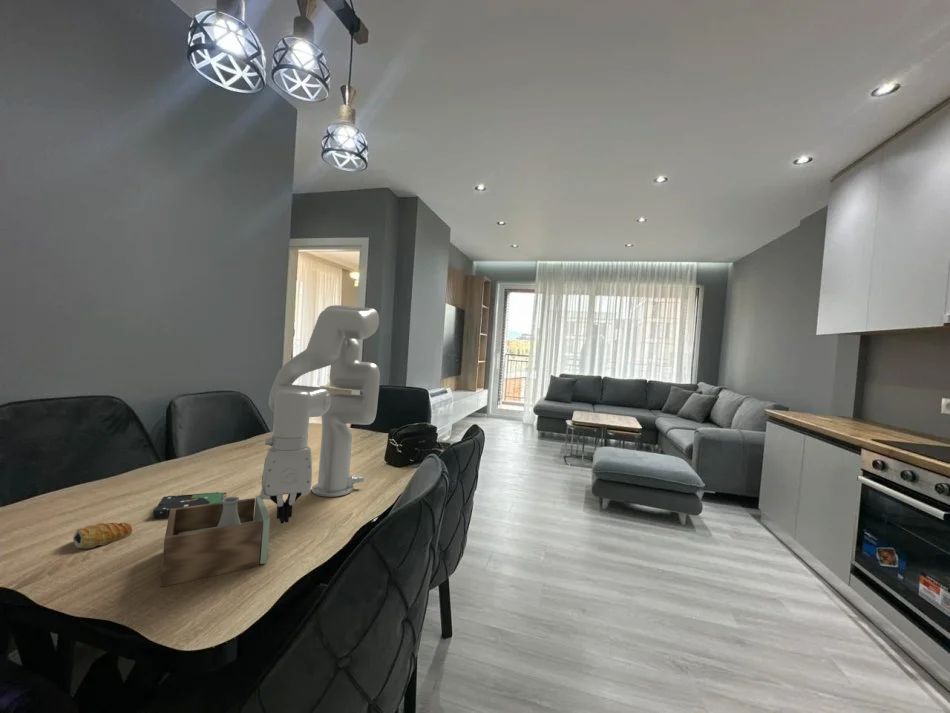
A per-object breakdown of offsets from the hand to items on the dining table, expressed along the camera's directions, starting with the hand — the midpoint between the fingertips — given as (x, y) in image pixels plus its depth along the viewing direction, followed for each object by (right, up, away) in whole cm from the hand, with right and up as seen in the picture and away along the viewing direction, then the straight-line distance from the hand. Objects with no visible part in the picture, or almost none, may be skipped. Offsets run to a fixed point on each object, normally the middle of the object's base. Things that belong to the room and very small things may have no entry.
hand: (283, 520), depth 90 cm
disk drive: (-32, -4, +15) cm, 36 cm away
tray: (-10, -4, -7) cm, 13 cm away
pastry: (-39, -3, -5) cm, 39 cm away
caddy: (-11, -5, -8) cm, 15 cm away
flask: (-9, -3, -6) cm, 11 cm away
